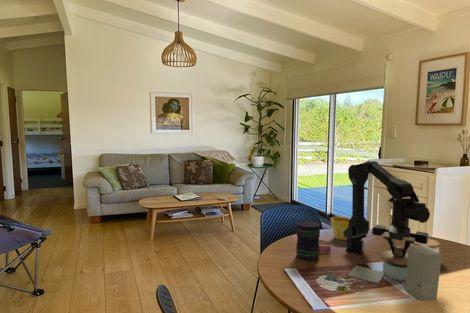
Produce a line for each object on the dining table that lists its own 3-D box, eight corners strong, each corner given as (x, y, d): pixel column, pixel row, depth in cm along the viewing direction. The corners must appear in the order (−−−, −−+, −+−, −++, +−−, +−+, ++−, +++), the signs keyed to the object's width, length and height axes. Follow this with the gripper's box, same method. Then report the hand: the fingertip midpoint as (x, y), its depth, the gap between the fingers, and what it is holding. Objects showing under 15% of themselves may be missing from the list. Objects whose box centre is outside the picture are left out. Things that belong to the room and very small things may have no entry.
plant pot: (331, 240, 165) (332, 221, 164) (329, 234, 175) (329, 216, 174) (353, 241, 163) (354, 222, 163) (349, 235, 174) (350, 217, 173)
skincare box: (403, 288, 115) (405, 244, 114) (423, 287, 116) (425, 243, 115) (419, 301, 107) (421, 253, 106) (440, 300, 108) (442, 252, 106)
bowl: (380, 275, 126) (381, 263, 126) (387, 266, 134) (387, 255, 134) (410, 282, 120) (410, 270, 120) (414, 272, 128) (415, 261, 128)
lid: (378, 260, 125) (378, 248, 125) (385, 250, 135) (385, 240, 135) (413, 268, 118) (414, 255, 118) (418, 257, 128) (419, 246, 127)
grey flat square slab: (347, 276, 125) (347, 275, 125) (356, 266, 134) (356, 265, 134) (378, 284, 119) (378, 283, 119) (385, 273, 127) (385, 272, 127)
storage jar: (323, 256, 144) (324, 223, 143) (312, 263, 137) (312, 228, 136) (303, 251, 151) (304, 219, 150) (291, 257, 144) (292, 223, 142)
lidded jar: (443, 265, 136) (444, 242, 135) (414, 262, 138) (415, 240, 137) (433, 255, 146) (434, 234, 145) (406, 253, 148) (407, 233, 147)
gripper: (369, 216, 124) (367, 256, 126) (425, 224, 113) (423, 269, 115) (376, 210, 133) (375, 248, 135) (429, 217, 122) (427, 258, 123)
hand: (398, 255), depth 127 cm, fingers closed on lid, 3 cm apart
